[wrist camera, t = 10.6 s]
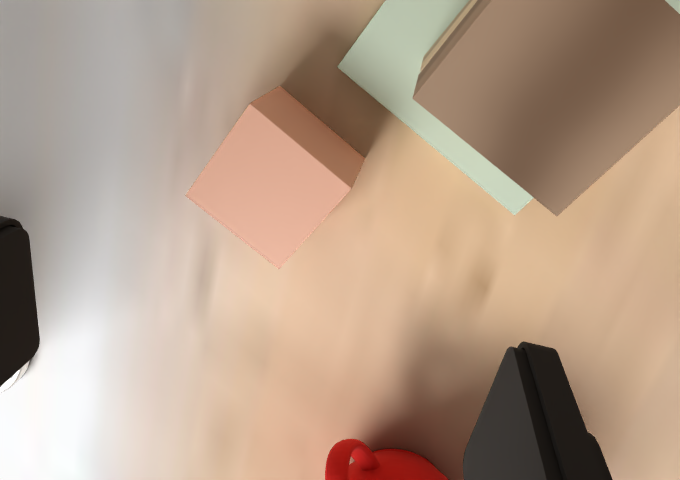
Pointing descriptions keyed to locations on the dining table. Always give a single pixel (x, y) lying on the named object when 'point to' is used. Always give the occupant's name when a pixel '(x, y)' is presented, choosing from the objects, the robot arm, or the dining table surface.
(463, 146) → the build tile
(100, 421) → the dining table surface
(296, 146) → the block
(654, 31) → the block
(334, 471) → the ceramic cup
